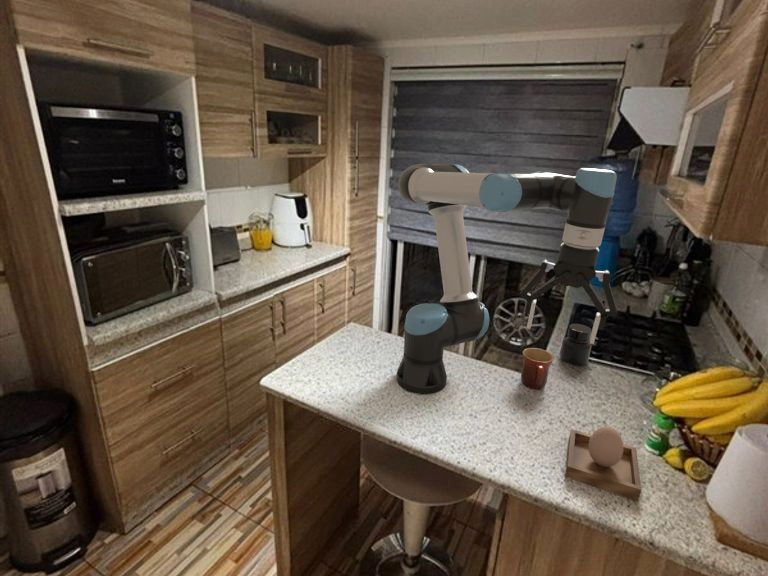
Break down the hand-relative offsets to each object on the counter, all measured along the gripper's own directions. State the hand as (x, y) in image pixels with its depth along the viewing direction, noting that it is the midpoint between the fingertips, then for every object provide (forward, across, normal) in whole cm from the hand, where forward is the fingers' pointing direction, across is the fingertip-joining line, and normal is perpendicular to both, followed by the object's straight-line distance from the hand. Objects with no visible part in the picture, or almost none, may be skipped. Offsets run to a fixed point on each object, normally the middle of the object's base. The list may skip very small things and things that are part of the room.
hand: (559, 333), depth 96 cm
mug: (+28, -3, +20) cm, 35 cm away
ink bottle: (+29, +7, +45) cm, 54 cm away
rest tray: (+27, +14, -7) cm, 31 cm away
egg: (+26, +14, -7) cm, 31 cm away
